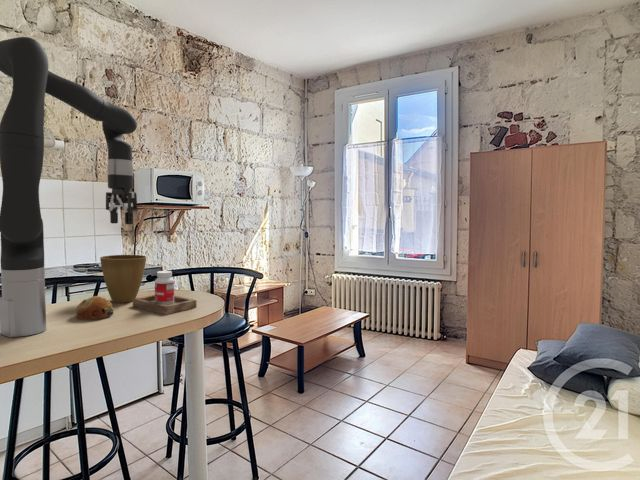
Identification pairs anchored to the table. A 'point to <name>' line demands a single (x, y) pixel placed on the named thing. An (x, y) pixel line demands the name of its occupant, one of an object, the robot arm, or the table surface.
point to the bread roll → (94, 309)
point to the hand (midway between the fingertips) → (121, 223)
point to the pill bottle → (164, 288)
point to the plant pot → (123, 276)
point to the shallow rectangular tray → (177, 306)
